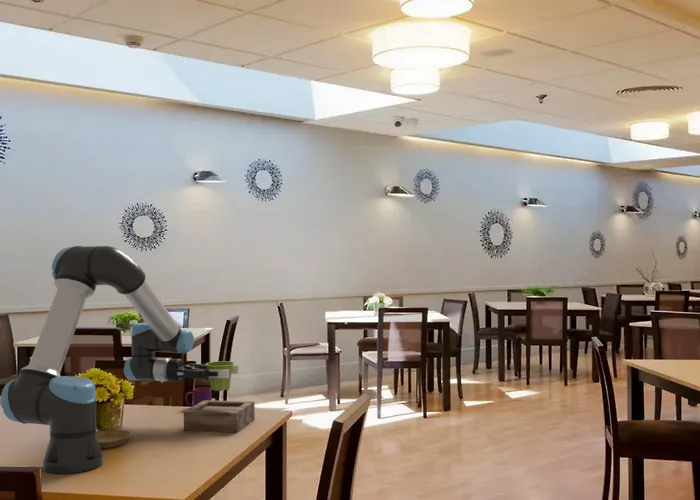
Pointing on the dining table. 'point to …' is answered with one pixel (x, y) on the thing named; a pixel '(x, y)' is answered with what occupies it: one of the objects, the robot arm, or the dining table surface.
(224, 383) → the plant pot
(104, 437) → the plant saucer
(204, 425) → the walnut plant stand
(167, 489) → the dining table surface
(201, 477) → the dining table surface
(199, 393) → the mug
